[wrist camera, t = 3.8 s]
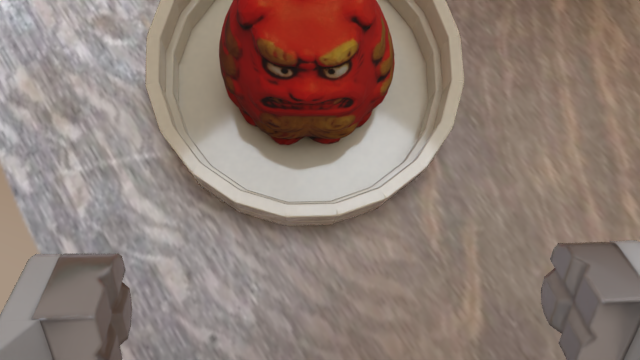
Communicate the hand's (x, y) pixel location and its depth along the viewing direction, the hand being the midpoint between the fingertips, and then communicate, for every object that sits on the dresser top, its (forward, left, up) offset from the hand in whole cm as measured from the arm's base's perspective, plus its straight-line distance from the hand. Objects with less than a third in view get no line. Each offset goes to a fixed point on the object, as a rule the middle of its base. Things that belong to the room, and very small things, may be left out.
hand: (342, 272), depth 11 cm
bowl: (0, +10, -17) cm, 20 cm away
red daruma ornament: (0, +10, -17) cm, 20 cm away
